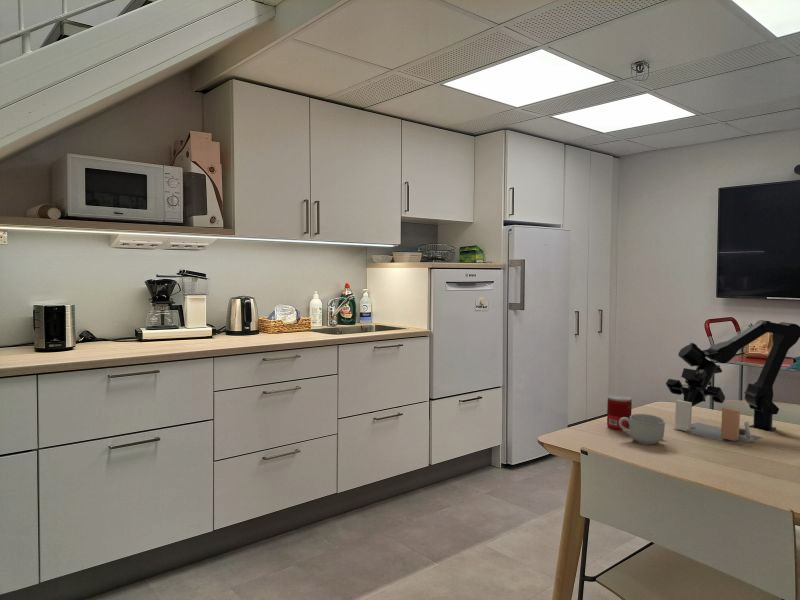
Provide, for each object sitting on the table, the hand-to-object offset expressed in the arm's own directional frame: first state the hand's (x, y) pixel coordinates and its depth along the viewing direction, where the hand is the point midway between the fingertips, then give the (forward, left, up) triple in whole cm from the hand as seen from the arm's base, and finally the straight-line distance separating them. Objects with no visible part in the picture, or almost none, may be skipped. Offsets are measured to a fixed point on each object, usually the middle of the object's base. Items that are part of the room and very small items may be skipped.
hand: (684, 409), depth 196 cm
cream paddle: (+1, 0, -7) cm, 7 cm away
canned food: (+14, -16, -8) cm, 23 cm away
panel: (-6, +8, -8) cm, 13 cm away
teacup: (+22, -2, -8) cm, 24 cm away
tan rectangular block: (-1, +15, -7) cm, 16 cm away
